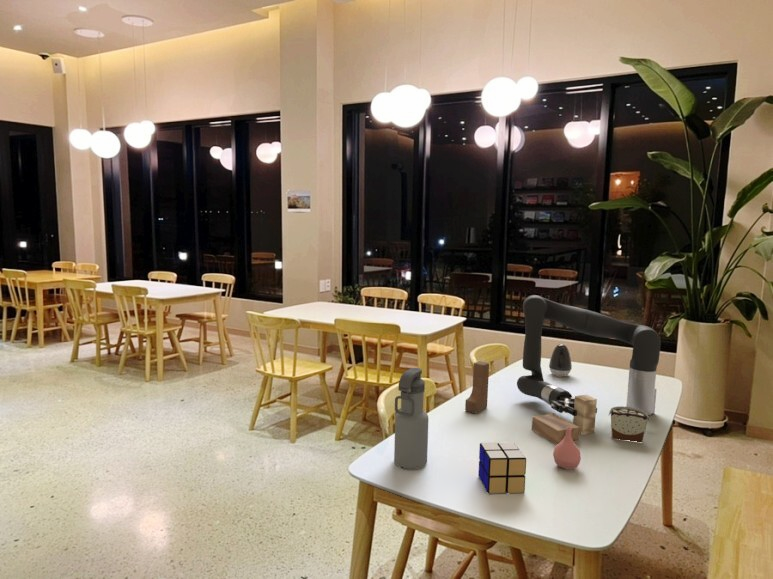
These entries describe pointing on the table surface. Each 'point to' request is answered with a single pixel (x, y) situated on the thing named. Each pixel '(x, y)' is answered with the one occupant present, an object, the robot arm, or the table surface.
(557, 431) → the base block
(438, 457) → the table surface
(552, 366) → the grey egg shape
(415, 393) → the water bottle
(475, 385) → the wooden block
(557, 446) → the pink vase
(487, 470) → the puzzle cube
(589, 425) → the oak post
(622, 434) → the food container
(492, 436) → the table surface
